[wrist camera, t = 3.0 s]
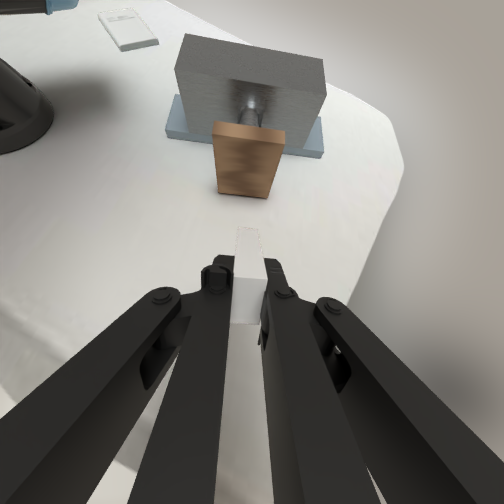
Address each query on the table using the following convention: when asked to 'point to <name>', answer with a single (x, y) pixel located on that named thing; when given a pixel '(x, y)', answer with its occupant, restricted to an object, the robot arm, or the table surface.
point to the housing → (247, 92)
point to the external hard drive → (127, 29)
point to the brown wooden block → (246, 155)
